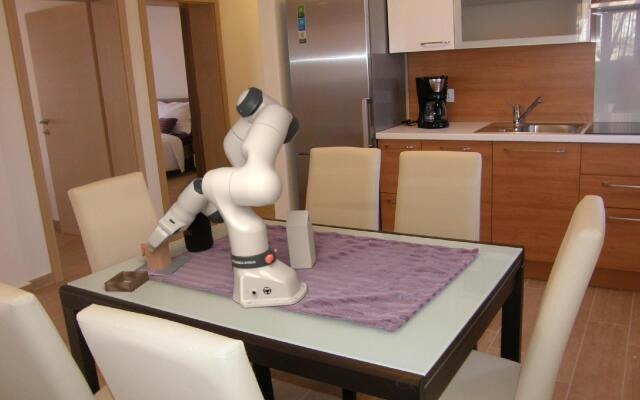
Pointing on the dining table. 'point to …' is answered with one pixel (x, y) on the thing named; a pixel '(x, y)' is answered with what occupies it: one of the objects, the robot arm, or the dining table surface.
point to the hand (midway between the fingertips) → (158, 245)
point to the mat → (171, 268)
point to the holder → (119, 286)
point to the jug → (157, 256)
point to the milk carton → (300, 239)
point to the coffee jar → (199, 234)
